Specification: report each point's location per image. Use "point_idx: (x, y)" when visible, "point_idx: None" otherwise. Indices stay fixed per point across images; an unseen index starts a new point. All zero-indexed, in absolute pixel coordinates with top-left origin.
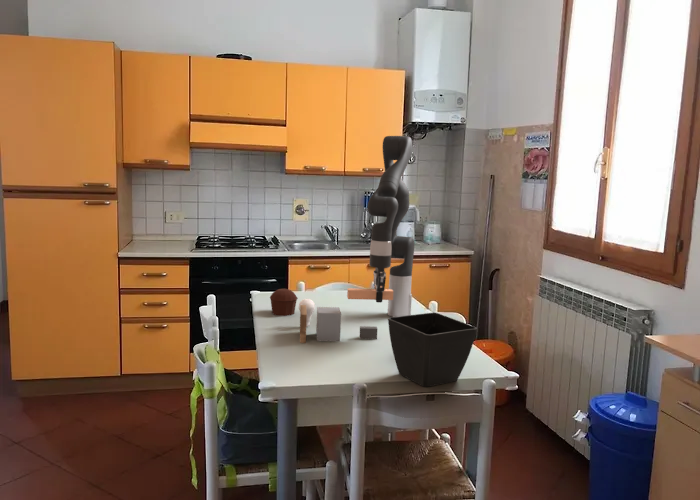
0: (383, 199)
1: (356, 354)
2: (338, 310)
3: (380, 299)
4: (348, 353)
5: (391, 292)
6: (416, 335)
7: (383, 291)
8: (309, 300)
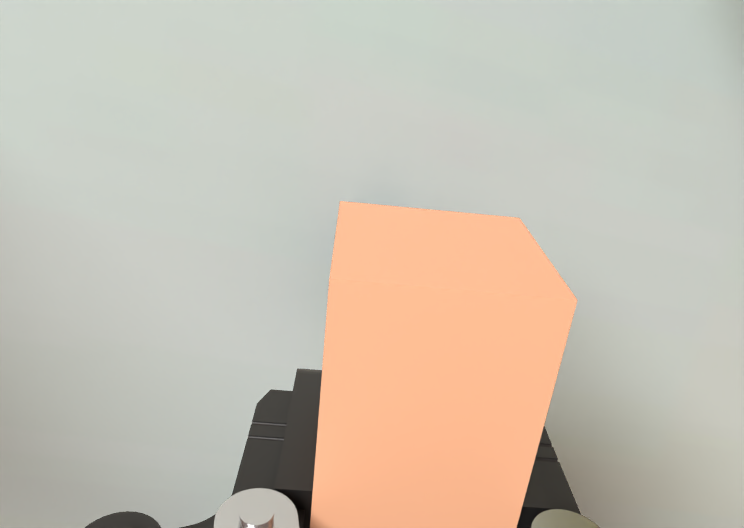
0: None
1: (729, 414)
2: None
3: (540, 445)
4: (695, 452)
5: (558, 327)
6: None
7: (521, 497)
8: None
